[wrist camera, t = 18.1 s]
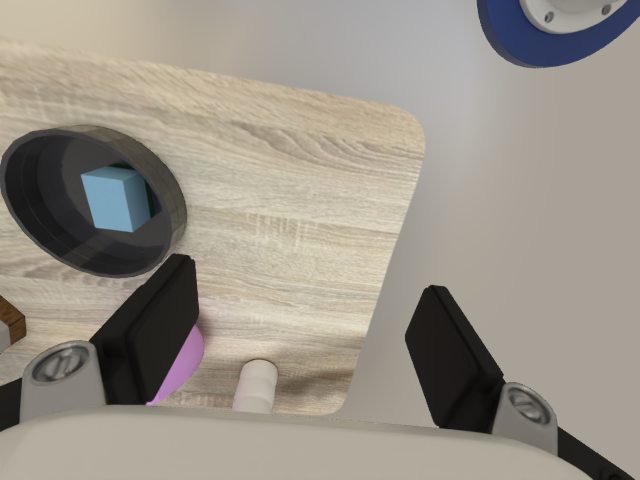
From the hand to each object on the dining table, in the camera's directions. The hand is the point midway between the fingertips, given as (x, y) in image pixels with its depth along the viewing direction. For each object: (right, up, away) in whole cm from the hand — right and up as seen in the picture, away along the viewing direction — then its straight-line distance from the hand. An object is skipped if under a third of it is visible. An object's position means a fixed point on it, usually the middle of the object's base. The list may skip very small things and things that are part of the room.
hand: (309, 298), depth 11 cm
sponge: (-24, +9, +24) cm, 35 cm away
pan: (-28, +8, +26) cm, 38 cm away
